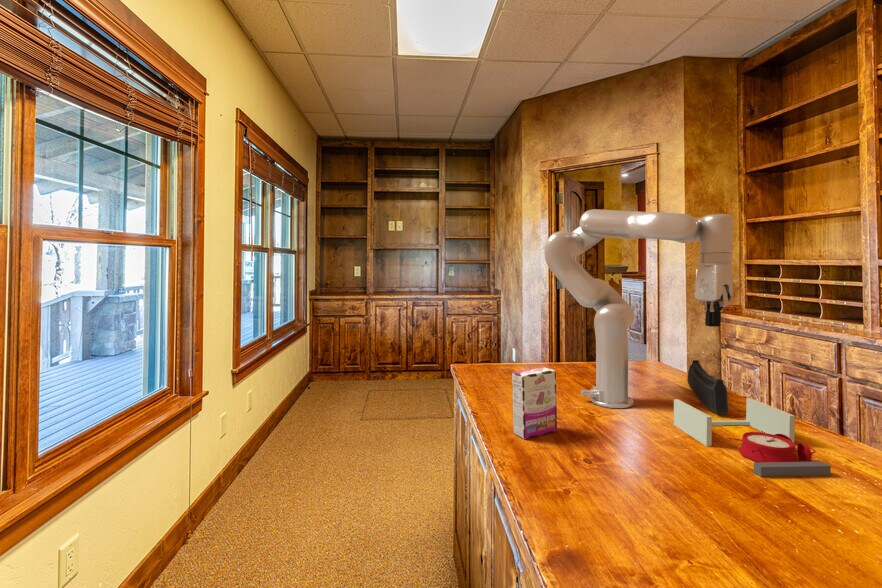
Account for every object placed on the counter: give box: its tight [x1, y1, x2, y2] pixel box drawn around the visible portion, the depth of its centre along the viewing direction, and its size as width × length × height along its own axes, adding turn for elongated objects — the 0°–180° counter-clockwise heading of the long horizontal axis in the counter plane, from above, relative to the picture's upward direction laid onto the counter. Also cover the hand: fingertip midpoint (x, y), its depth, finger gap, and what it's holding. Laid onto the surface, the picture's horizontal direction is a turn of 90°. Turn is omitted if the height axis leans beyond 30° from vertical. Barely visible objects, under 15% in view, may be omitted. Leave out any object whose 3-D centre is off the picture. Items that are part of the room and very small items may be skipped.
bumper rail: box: [752, 461, 832, 478], centre depth 85 cm, size 14×2×2 cm, turn 90°
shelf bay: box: [673, 397, 796, 447], centre depth 105 cm, size 21×14×7 cm
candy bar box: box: [511, 367, 558, 440], centre depth 108 cm, size 11×5×16 cm, turn 117°
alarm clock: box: [729, 431, 816, 463], centre depth 92 cm, size 10×6×15 cm
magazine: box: [686, 359, 730, 415], centre depth 131 cm, size 17×3×30 cm
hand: (712, 325), depth 115 cm, fingers closed
